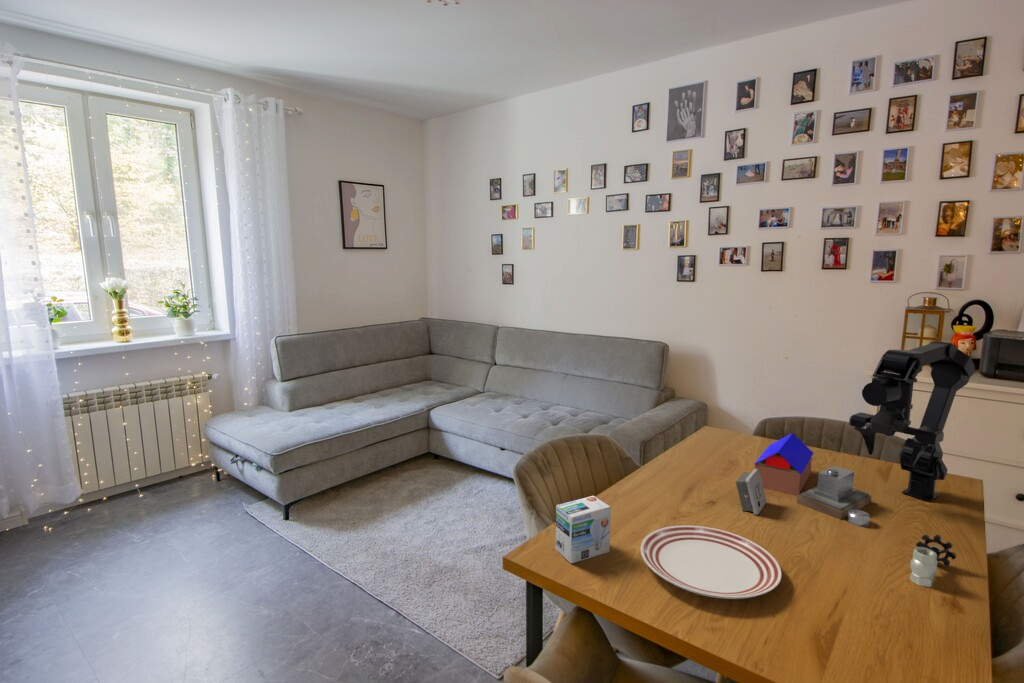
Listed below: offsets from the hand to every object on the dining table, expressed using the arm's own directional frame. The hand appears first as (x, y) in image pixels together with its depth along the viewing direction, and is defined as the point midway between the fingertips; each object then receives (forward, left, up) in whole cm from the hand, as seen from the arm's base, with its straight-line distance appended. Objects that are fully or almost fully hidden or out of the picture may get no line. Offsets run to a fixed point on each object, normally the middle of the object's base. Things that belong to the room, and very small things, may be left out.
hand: (890, 459), depth 133 cm
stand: (+8, -9, -13) cm, 18 cm away
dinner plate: (+61, -9, -14) cm, 63 cm away
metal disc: (+14, 0, -13) cm, 19 cm away
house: (+4, -25, -14) cm, 28 cm away
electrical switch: (+28, -20, -13) cm, 37 cm away
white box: (+78, -29, -13) cm, 84 cm away
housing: (+8, -9, -10) cm, 16 cm away
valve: (+26, +17, -13) cm, 34 cm away
